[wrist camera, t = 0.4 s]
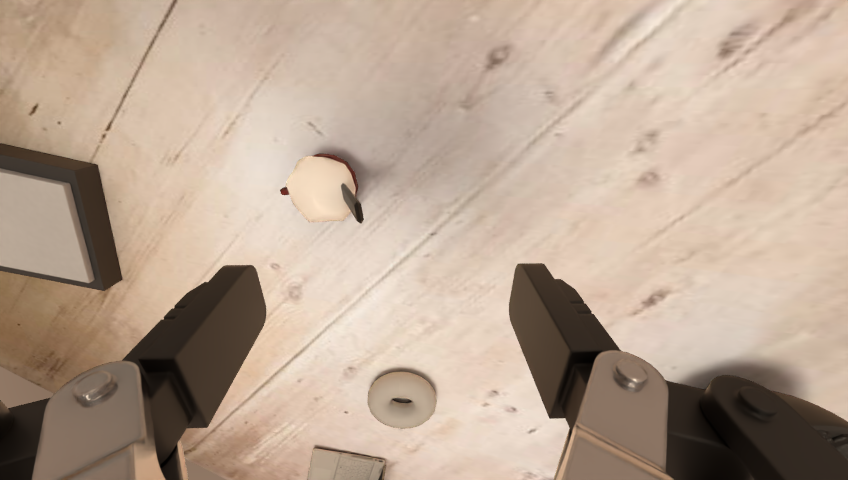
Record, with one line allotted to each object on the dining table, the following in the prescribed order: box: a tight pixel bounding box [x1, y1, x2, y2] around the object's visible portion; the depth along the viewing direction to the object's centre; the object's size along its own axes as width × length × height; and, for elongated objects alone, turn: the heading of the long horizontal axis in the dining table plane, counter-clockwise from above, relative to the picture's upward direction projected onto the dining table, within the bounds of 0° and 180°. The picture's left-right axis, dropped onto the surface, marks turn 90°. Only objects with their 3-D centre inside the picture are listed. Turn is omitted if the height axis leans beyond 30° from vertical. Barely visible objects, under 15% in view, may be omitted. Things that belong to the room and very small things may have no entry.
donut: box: [368, 372, 437, 429], centre depth 47 cm, size 10×3×10 cm
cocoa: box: [280, 154, 364, 223], centre depth 30 cm, size 10×6×12 cm, turn 74°
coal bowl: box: [772, 391, 848, 460], centre depth 40 cm, size 20×20×19 cm
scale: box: [0, 144, 122, 291], centre depth 36 cm, size 15×13×3 cm
